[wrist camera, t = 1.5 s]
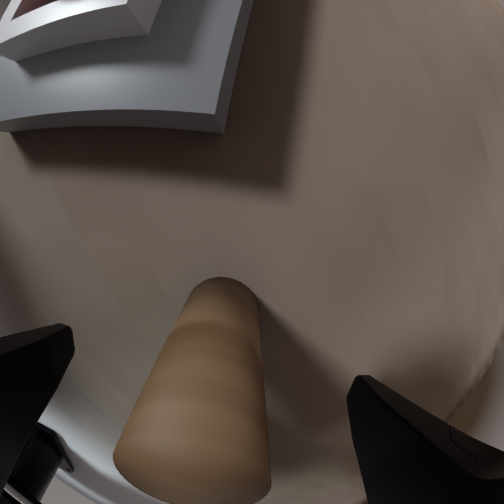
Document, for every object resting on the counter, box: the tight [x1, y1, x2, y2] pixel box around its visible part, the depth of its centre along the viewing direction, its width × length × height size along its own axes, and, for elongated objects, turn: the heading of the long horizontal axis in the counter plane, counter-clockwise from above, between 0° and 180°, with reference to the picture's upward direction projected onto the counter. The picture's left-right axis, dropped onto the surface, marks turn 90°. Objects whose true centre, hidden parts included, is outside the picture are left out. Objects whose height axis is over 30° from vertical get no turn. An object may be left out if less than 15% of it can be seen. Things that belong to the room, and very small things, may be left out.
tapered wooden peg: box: [113, 277, 271, 504], centre depth 8 cm, size 3×3×8 cm
